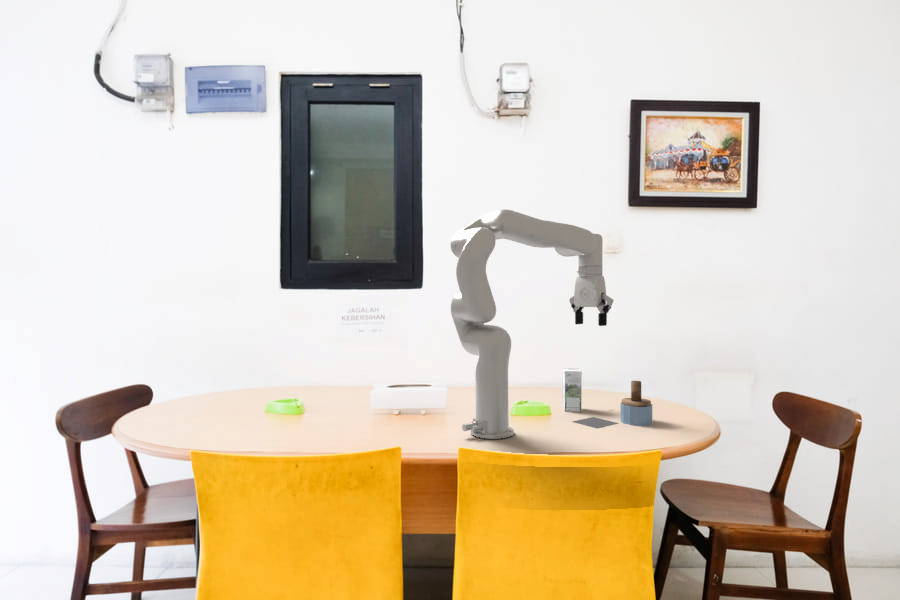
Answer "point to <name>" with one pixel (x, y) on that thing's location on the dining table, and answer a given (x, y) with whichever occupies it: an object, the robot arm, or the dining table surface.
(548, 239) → the robot arm
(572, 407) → the syrup box
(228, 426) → the dining table surface
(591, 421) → the mat
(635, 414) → the blue round pot
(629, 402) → the lid
